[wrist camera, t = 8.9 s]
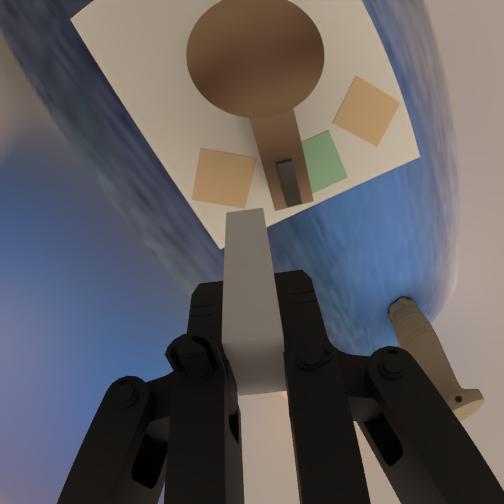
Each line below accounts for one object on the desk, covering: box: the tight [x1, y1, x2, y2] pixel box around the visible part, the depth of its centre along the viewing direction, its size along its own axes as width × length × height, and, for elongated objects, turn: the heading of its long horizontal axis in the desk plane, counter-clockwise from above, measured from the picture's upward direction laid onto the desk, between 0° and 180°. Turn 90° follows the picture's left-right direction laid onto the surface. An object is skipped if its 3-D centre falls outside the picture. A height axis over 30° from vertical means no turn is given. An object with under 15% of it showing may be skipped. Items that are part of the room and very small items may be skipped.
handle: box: [389, 297, 484, 422], centre depth 27 cm, size 5×6×15 cm
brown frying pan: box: [186, 0, 325, 211], centre depth 17 cm, size 13×7×5 cm, turn 15°
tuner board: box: [70, 0, 420, 249], centre depth 19 cm, size 18×22×1 cm
